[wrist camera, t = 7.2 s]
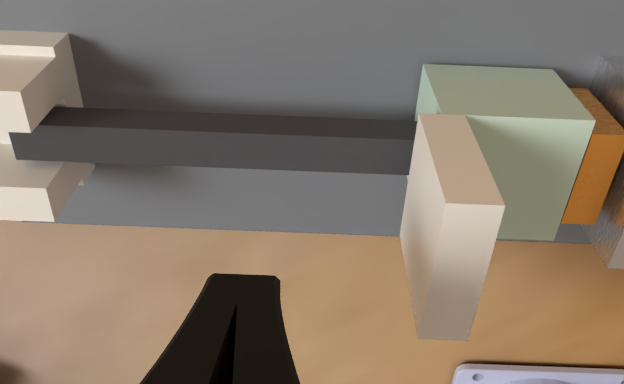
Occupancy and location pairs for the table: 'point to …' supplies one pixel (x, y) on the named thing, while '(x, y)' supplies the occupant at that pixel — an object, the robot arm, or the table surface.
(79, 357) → the table surface
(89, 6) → the board
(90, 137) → the dark grey bar
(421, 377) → the table surface
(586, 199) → the connector
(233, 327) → the robot arm
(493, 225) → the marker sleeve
